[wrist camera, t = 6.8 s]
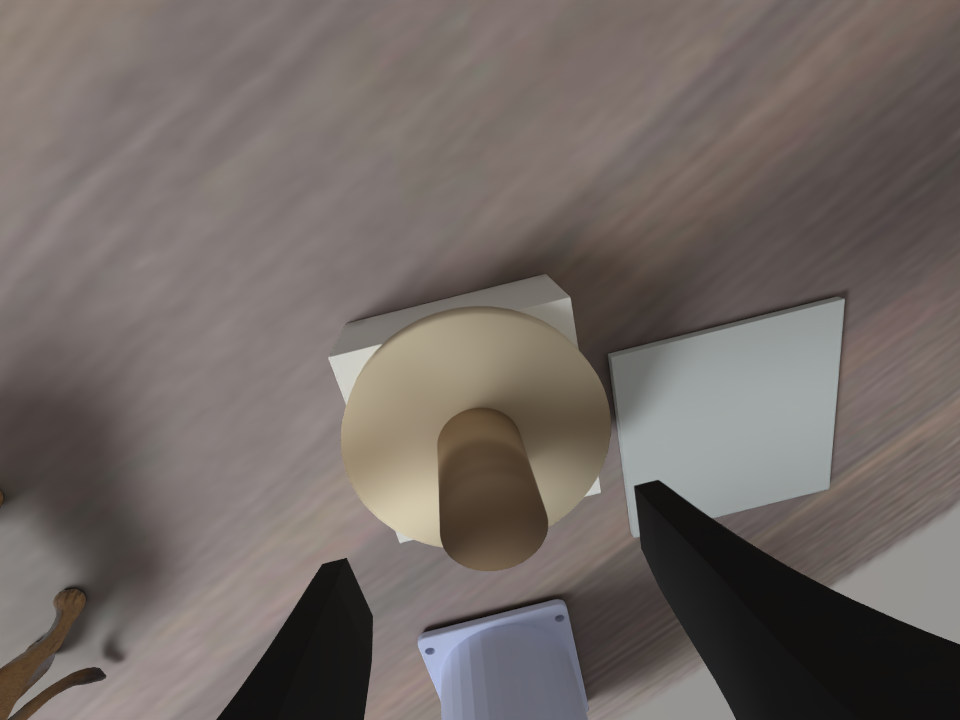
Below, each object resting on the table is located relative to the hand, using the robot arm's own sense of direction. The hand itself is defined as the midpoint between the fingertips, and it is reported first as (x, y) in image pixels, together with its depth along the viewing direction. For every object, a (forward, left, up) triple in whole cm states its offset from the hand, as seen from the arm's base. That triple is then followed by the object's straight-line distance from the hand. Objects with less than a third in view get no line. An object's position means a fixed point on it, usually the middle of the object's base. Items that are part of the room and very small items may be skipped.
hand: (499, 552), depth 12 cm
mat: (-5, -11, -9) cm, 15 cm away
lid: (0, 0, -6) cm, 6 cm away
